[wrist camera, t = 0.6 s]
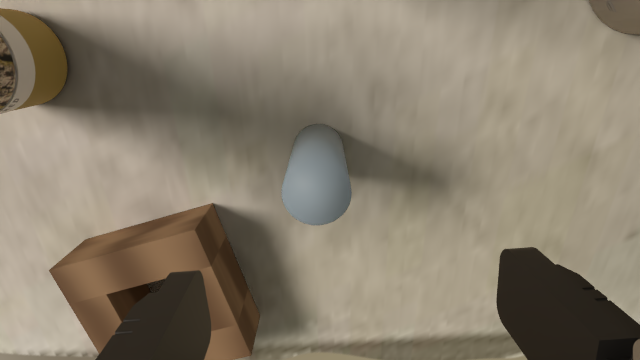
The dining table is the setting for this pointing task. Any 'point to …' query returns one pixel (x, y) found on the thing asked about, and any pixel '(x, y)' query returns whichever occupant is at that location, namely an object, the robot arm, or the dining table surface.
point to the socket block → (160, 277)
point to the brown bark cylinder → (28, 61)
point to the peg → (317, 177)
